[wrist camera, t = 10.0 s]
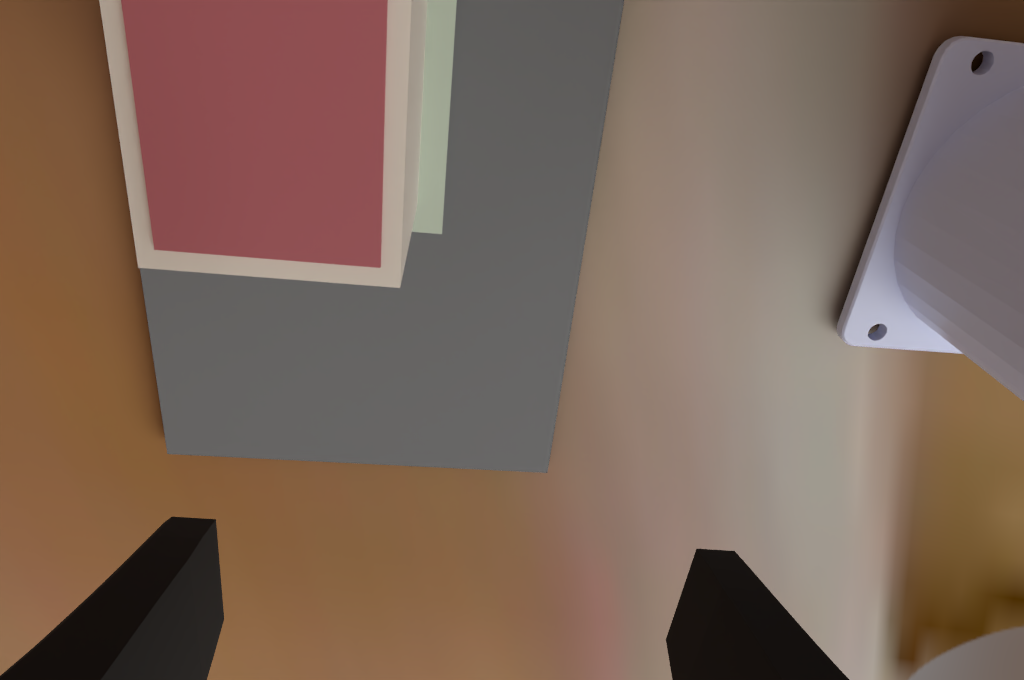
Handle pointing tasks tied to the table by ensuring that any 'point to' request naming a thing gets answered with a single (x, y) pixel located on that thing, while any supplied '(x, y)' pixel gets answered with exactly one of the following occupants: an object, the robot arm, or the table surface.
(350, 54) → the card box
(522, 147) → the mat
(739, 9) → the table surface
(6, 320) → the table surface
